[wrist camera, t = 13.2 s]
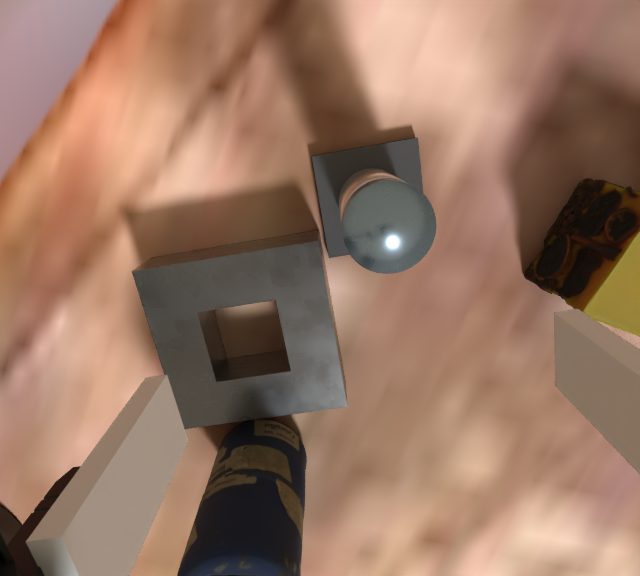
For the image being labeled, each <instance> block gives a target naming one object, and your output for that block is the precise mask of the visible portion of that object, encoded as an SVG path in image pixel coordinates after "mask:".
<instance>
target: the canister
mask: <svg viewBox="0 0 640 576" xmlns="http://www.w3.org/2000/svg"><path fill="white" fill-rule="evenodd" d="M306 463H307V457H306V452H305V448H304V445H303V443H302V441H301V440H300V439H299V437H298V436H297V435H296V434H295V433H294V432H293V431H292V430H291V429H289V428H288V427H287V426H285V425H283V424H281V423H278V422H276V421H273V420H263V419H261V420H252V421H247V422H244V423H242V424H240V425H238V426H237V427H235V428H234V429H232V430H231V431H230V432H229V433H228V434H227V435H226V437H225V438H224V439H223V441H222V443H221V445H220V448H219V451H218V453H217V456H216V459H215V462H214V466H213V469H212V472H211V475H210V478H209V481H208V483H207V487H206V490H205V493H204V494H203V497H202V500H201V503H200V506H199V509H198V512H197V515H196V518H195V521H194V524H193V527H192V530H191V533H190V536H189V539H188V542H187V546H186V549H185V552H184V555H183V558H182V561H181V564H180V568H179V571H178V575H177V576H301V555H302V535H303V518H304V506H305V469H306Z"/></svg>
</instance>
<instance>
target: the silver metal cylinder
mask: <svg viewBox="0 0 640 576" xmlns="http://www.w3.org/2000/svg"><path fill="white" fill-rule="evenodd" d="M339 211H340V219H341V227H342V235H343V240H344V243H345V246H346V248H347V250H348V252H349V254H350V255H351V257H352V258H353V259H354V260H355V261H356V262H357V263H358V264H360V265H361V266H363V267H364V268H366V269H368V270H370V271H373V272H377V273H385V274H390V273H397V272H401V271H404V270H407V269H409V268H411V267H412V266H414V265H415V264H417V263H418V262H419V261H420V260H421V259H422V258H423V257H424V256H425V255H426V254H427V252H428V251H429V249H430V247H431V246H432V243H433V241H434V237H435V233H436V218H435V213H434V210H433V207H432V205H431V203H430V202H429V200H428V199H427V197H426V196H425V195H424V194H423V193H422V192H421V191H420V190H418V189H417V188H415V187H414V186H412V185H410V184H408V183H406V182H405V181H403V180H401V179H399V178H397V177H395V176H394V175H392V174H390V173H388V172H386V171H384V170H381V169H377V168H366V169H362V170H359V171H357V172H355V173H354V174H352V175H351V176H350V177H349V178H348V179H347V180H346V181H345V183H344V184H343V186H342V188H341V190H340V194H339Z"/></svg>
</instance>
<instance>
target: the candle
mask: <svg viewBox="0 0 640 576" xmlns="http://www.w3.org/2000/svg"><path fill="white" fill-rule="evenodd" d="M544 243H545V247H544V249H543V250H542V252H541V253H540V254H539V255H538V257H537V258H536V259H535V260H534V261H533V262H532V263H531V264H530V266H529V268H528V269H527V270H526V273H525V275H524V277H525V278H526V279H527V280H529V281H531V282H533V283H535V284H536V285H537V286H538V287H540V288H541V289H542V290H544V291H546V292H548V293H550V294H552V293H554V294H556V295H558V296H561V298H562V299H564V300H565V301H566V303H567V304H568V305H570V306H572V307H573V308H574V309H579V310H580V311H582V312H583V313H585V314H586V315H588V316H589V317H591V318H593V319H594V320H597V321H600V322H603V323H605V324H608V325H610V326H613V327H615V328H618V329H621V330H624V331H627V332H629V333H632V334H634V335H637V336H640V192H639V191H633V190H632V188H631V187H628V188H624V187H621V186H618V185H615V184H612V183H609V182H607V181H603V180H594V181H593V180H592V179H585V180H583V181H581V182H580V184H579V185H578V187H577V188H576V190H575V192H574V193H573V195H572V197H571V198H570V200H569V202H568V204H567V205H566V206H565V207H564V208H563V210H562V212H561V213H560V215H559V217H558V218H557V220H556V222H555V224H554V225H553V226H552V228H551V229H550V231H549V233H548V237H547V238H546V239H545V240H544Z"/></svg>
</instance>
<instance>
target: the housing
mask: <svg viewBox="0 0 640 576" xmlns="http://www.w3.org/2000/svg"><path fill="white" fill-rule="evenodd" d="M132 274H133V277H134V280H135V283H136V286H137V289H138V292H139V296H140V299H141V302H142V305H143V308H144V311H145V314H146V318H147V321H148V324H149V327H150V330H151V333H152V336H153V340H154V343H155V346H156V349H157V352H158V355H159V358H160V362H161V365H162V368H163V371H164V374H165V375H167V376H168V379H169V382H170V385H171V388H172V391H173V395H174V398H175V401H176V404H177V407H178V410H179V413H180V417H181V420H182V423H183V426H184V429H189V428H196V427H204V426H211V425H218V424H225V423H232V422H240V421H247V420H254V419H261V418H269V417H276V416H283V415H290V414H297V413H305V412H312V411H319V410H326V409H333V408H341V407H347V394H346V381H345V376H344V370H343V364H342V358H341V353H340V347H339V341H338V335H337V330H336V324H335V318H334V312H333V307H332V301H331V295H330V289H329V284H328V278H327V272H326V266H325V261H324V255H323V249H322V243H321V238H320V232H319V230H316V231H310V232H304V233H298V234H292V235H286V236H280V237H274V238H268V239H262V240H256V241H250V242H244V243H238V244H231V245H225V246H219V247H213V248H207V249H201V250H195V251H189V252H183V253H177V254H171V255H165V256H159V257H153V258H151V259H149V260H148V261H146V262H145V263H143V264H142V265H141V266H139V267H138V268H136V269H135V270H133V271H132ZM272 300H276V304H277V309H278V313H279V318H280V323H281V327H282V332H283V337H284V341H285V346H286V350H284V351H277V352H270V353H264V354H257V355H250V356H244V357H237V358H230V359H227V358H226V355H225V351H224V347H223V343H222V339H221V336H220V332H219V328H218V324H217V321H216V317H215V313H214V309H221V308H227V307H234V306H240V305H246V304H253V303H259V302H265V301H272Z"/></svg>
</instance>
